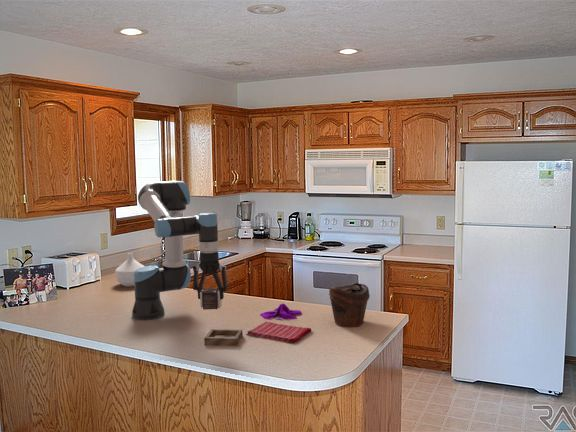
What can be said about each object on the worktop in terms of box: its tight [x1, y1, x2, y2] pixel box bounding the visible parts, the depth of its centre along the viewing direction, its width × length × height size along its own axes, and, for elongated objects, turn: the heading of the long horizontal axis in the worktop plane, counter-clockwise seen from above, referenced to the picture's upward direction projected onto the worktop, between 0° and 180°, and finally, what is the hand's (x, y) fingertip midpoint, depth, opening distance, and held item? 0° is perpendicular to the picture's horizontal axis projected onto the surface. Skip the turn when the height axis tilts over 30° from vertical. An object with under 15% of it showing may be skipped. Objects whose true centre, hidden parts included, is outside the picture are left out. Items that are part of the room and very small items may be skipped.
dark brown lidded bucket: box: [328, 282, 371, 328], centre depth 243 cm, size 18×20×18 cm
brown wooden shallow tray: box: [203, 328, 244, 347], centre depth 223 cm, size 14×11×3 cm
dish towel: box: [246, 321, 312, 344], centre depth 231 cm, size 17×24×3 cm
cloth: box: [259, 302, 302, 321], centre depth 256 cm, size 22×19×6 cm
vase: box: [114, 252, 146, 287], centre depth 319 cm, size 18×18×19 cm
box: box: [202, 287, 219, 311], centre depth 219 cm, size 6×6×7 cm
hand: (211, 306), depth 219 cm, fingers closed on box, 7 cm apart
